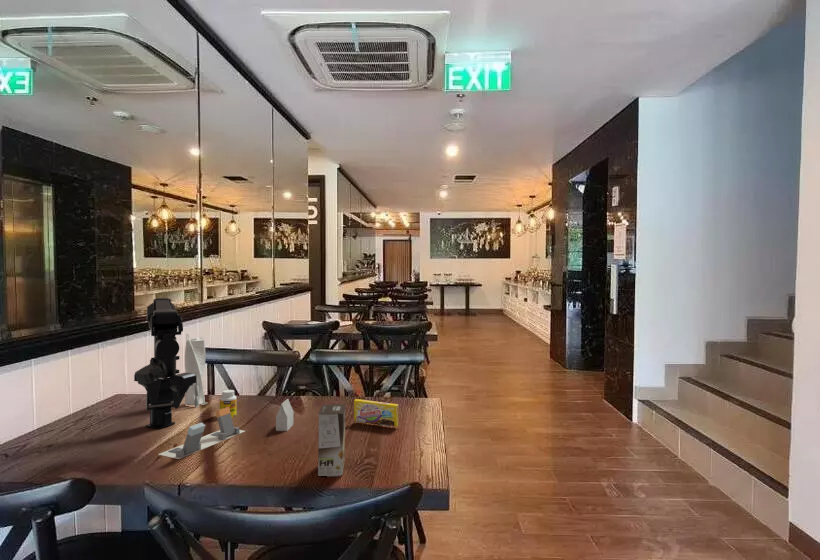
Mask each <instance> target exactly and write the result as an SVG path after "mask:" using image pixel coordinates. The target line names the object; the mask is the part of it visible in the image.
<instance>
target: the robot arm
mask: <svg viewBox="0 0 820 560" xmlns="http://www.w3.org/2000/svg"><path fill="white" fill-rule="evenodd" d="M171 302H172V301H171V298H169V297H165V298H164V297H160V298H159V297H156V298H153V302H152V303H151V304H149V305H148V306H147V308H146V323H148V328H149V330H150V335H151V337H153V357H150V360H149V364H148V365H145V366H143V367H142V368H140V369H138V370H136V371H135V372H134V374H133V378H134V379H133V381H134V382H137V384H138V385H140V386H142V387H143V388H144V389H145V392H146V401H145V402H146V404H145V406H146V407H145V408H146V411H149V423H148V424H145V427H147V428H150V427H151V429H157V430H159V429H164V428H166V427H169V426H172V425H175V424H176V422H175V421H172V420H173V419H172V416H173V415H172V414H173V413H172V408H174V409H178V408H179V407H180V405H181V403H182V401H183V399H184V398H185V396H186V392H187V390H188V389H189V387H190V386H192V385H193V383H196V375H195V374H194V373H186V371H185V372H182V373H180V369H177V361H178V360H180V355H178V354H179V352H180V345H179V344H180V343H178V341H177V337H176V336H180V335H182V332H184V324H183V318H182V316H181V314H178V312H179V311H177V310H176V307H175V305H174V304H173V303H171Z"/></svg>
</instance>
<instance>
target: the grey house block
mask: <svg viewBox="0 0 820 560" xmlns="http://www.w3.org/2000/svg"><path fill="white" fill-rule="evenodd" d="M294 414H295V413H294V409H293V406H292V405H291V402H290V400H289V398H287V399H285V400H284V401H283V402H282V403H281V404H280V406H279V409H278V412H277V414H276V415H275V431H276V432H288V431H289V430H290V429H291V428H292V427H293V425H294Z"/></svg>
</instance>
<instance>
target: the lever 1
mask: <svg viewBox="0 0 820 560" xmlns="http://www.w3.org/2000/svg"><path fill="white" fill-rule="evenodd" d="M206 426H207V425H206V424H204V423H203V422H202V421H201V422H200V423H196V424H193V425H190V426H188V429H187V433H186V437H185V440H184V442H183V444H184V446H183V449H182V450H184V455H188V454H190V453H192V452H195V451H197V449H198V446H199V443H200V440H201V437H203V434H204V431H205V428H206ZM197 452H198V451H197ZM195 453H196V452H195ZM190 455H191V454H190ZM188 456H189V455H188Z"/></svg>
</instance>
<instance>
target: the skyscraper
mask: <svg viewBox="0 0 820 560" xmlns="http://www.w3.org/2000/svg"><path fill="white" fill-rule="evenodd" d="M184 347H185V348H184V370H185V372H186V373H194V374H195V375H196V383H193V385H192V386H190V387H189V389H188V390H187V392H186V394H185V396H184V398H185V399H184V405H185V404H187V405H195V407H198V408H200V407H199V404H201V405H203V406H204V405H207V404H209V402H207V401H205V390H204V385H203V384H204V383H203V377H204V372H205V366H206V344H205V338H204V337H202V336H201V337H191V338H190V335H189V334H188V333H186V335H185V346H184Z"/></svg>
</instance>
